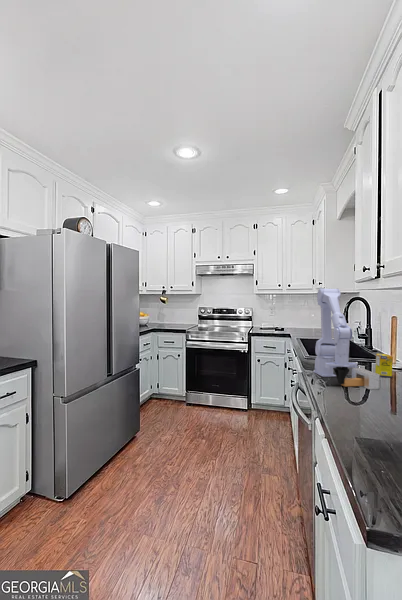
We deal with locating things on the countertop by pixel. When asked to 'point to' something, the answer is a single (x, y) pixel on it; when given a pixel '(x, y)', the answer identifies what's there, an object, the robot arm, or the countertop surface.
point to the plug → (353, 382)
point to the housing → (367, 377)
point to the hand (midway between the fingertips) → (340, 383)
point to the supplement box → (384, 365)
